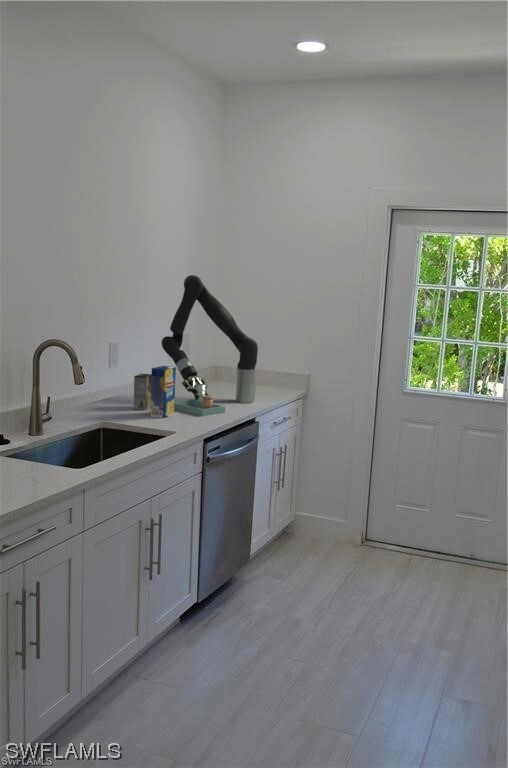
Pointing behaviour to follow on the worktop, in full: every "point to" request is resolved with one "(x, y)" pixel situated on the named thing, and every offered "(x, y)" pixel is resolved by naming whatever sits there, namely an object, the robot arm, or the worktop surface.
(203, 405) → the pestle
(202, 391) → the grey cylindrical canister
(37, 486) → the worktop surface
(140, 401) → the coffee box
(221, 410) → the tray
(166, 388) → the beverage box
